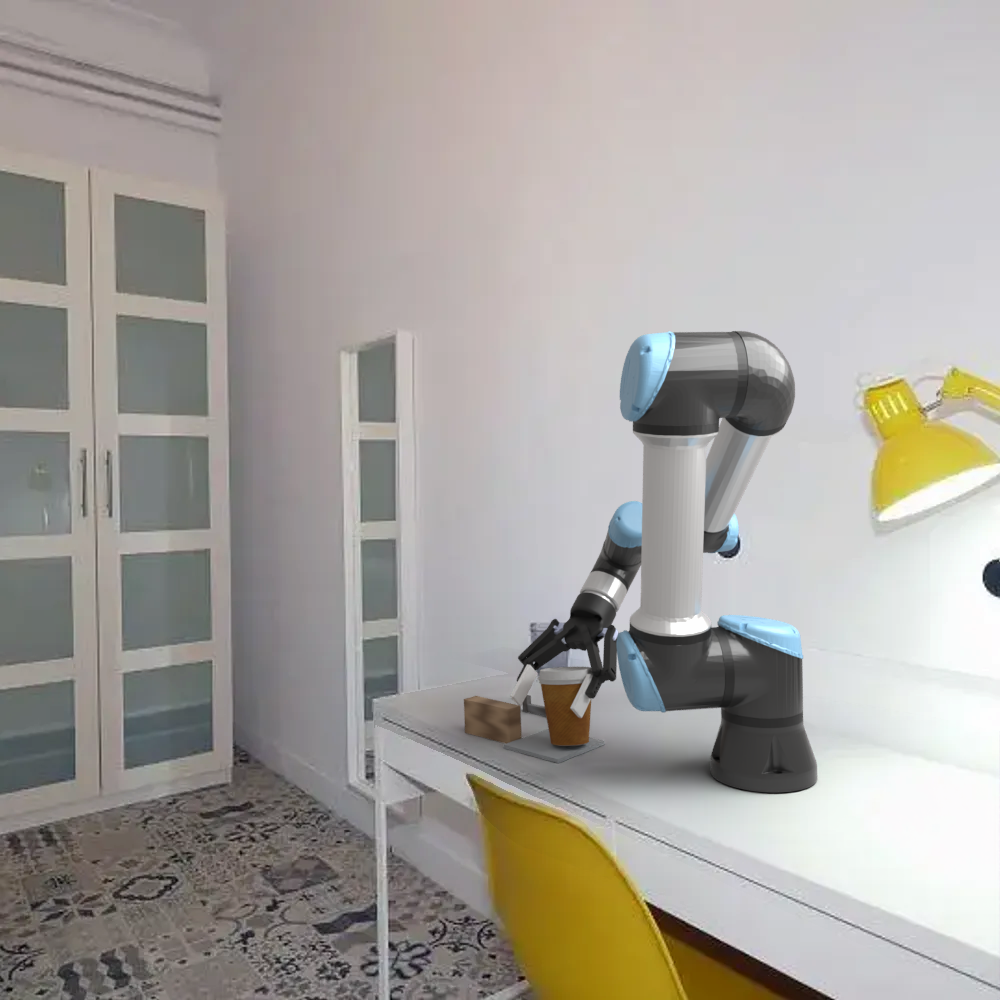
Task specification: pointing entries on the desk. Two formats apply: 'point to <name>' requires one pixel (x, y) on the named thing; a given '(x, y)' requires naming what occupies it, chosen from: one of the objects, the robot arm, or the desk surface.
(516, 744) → the grey mat
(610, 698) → the desk surface
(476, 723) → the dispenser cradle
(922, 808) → the desk surface
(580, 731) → the disposable coffee cup
